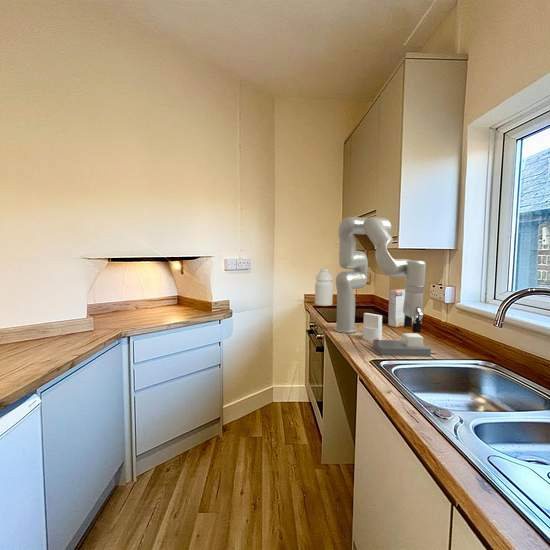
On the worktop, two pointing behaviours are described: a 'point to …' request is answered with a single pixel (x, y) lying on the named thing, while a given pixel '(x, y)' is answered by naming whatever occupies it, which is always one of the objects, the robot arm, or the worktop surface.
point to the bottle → (324, 288)
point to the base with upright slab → (372, 327)
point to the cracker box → (396, 308)
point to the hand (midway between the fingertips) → (412, 329)
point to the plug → (412, 340)
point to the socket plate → (399, 348)
